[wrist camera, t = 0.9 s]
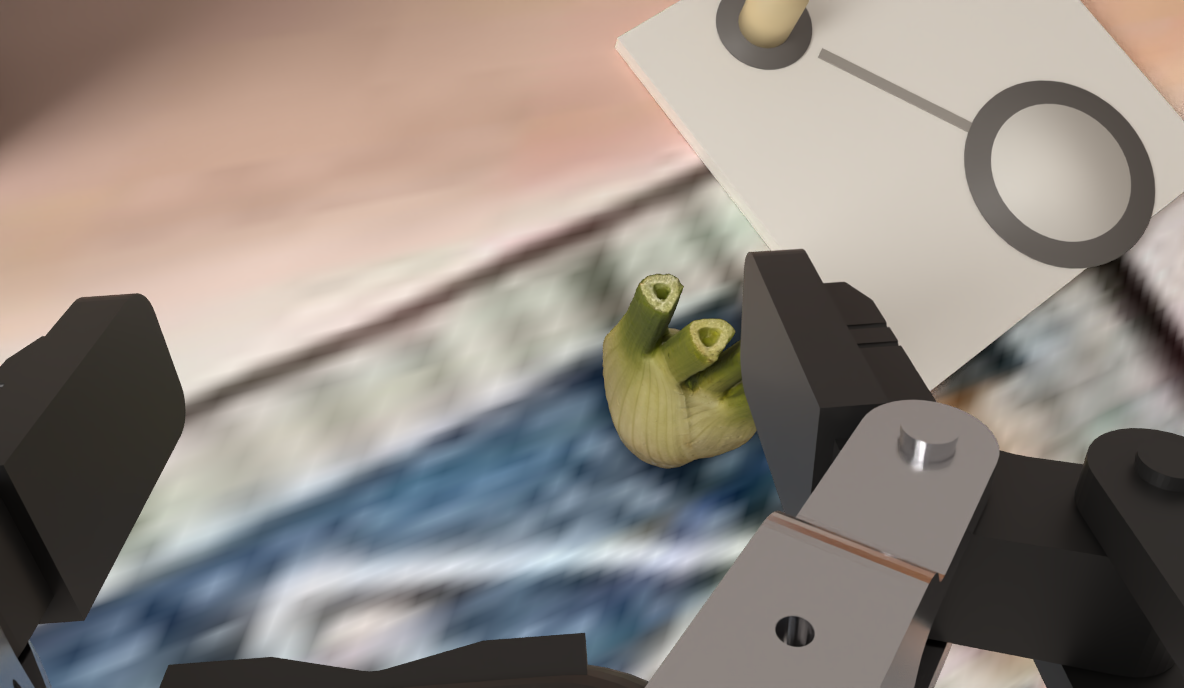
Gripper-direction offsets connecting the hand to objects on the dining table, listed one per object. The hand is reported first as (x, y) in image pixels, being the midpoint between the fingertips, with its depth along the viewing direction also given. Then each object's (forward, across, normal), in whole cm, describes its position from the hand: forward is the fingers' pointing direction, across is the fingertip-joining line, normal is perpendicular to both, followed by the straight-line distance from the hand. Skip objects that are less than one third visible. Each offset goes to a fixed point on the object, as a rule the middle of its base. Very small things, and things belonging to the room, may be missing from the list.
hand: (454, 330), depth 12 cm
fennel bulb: (+19, -5, +16) cm, 25 cm away
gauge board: (+29, -18, +8) cm, 35 cm away
